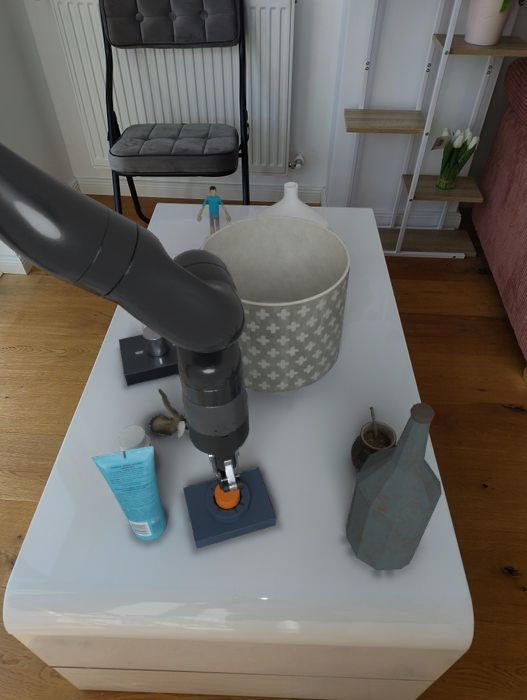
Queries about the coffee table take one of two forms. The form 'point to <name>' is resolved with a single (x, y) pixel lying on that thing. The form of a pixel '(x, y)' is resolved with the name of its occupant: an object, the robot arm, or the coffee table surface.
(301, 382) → the planter
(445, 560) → the coffee table surface
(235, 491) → the button
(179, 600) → the coffee table surface
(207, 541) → the button block
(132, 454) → the tube
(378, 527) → the bottle
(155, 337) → the program dial
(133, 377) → the dial panel
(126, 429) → the pill bottle
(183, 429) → the eagle figurine
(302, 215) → the vase
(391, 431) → the mate gourd
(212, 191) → the figurine
